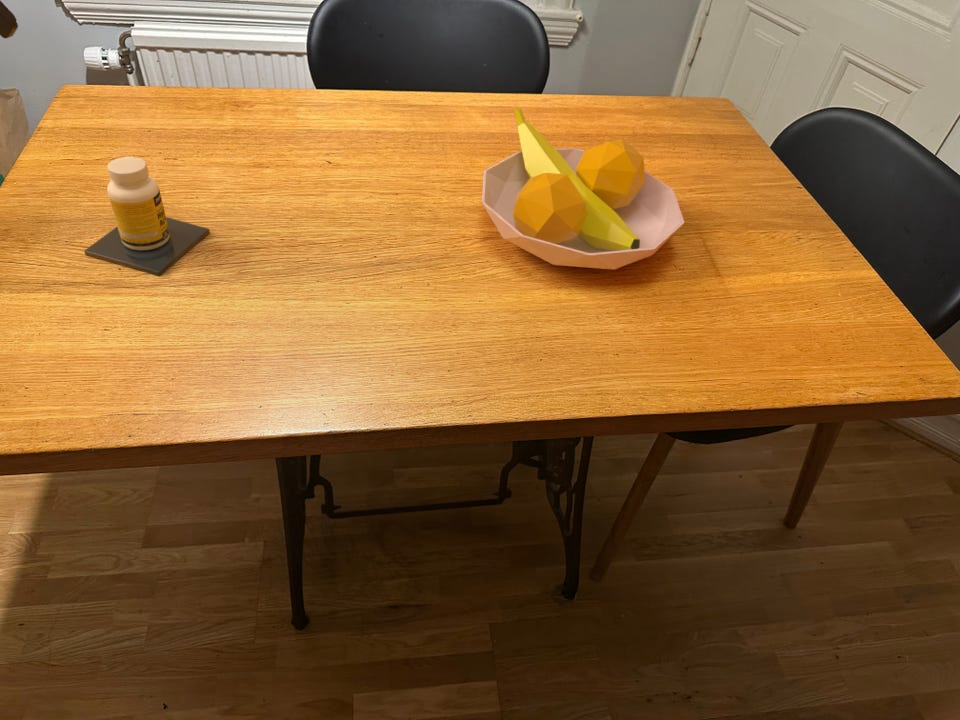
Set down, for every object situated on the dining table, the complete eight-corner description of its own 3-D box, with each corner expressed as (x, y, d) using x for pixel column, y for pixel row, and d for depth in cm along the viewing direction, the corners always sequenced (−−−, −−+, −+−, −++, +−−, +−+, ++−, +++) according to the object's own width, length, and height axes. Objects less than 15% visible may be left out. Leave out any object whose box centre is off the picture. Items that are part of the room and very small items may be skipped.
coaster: (159, 276, 80) (158, 272, 80) (85, 254, 82) (83, 250, 81) (210, 232, 87) (209, 228, 87) (140, 213, 89) (139, 209, 88)
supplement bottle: (174, 247, 83) (155, 173, 76) (124, 255, 81) (101, 179, 74) (167, 223, 87) (149, 150, 80) (120, 231, 85) (97, 156, 78)
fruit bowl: (707, 280, 89) (737, 203, 82) (507, 302, 82) (519, 220, 74) (617, 173, 108) (635, 102, 101) (449, 183, 101) (454, 108, 94)
